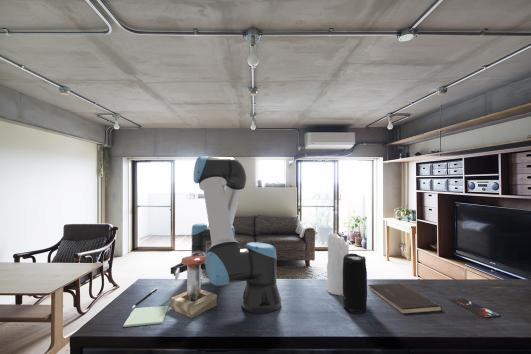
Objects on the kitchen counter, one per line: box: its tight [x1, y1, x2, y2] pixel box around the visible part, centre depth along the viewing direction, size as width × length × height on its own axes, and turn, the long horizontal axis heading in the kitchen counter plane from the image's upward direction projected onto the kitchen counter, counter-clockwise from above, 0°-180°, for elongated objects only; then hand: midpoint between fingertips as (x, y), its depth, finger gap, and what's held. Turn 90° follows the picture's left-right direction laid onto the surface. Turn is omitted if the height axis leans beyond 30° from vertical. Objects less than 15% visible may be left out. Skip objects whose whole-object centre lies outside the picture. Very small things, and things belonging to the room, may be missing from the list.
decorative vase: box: [325, 232, 350, 296], centre depth 117 cm, size 11×11×25 cm
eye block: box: [170, 289, 218, 319], centre depth 101 cm, size 12×12×4 cm
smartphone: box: [448, 297, 501, 319], centre depth 100 cm, size 7×1×15 cm
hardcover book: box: [367, 282, 443, 314], centre depth 108 cm, size 16×23×2 cm
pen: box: [131, 287, 159, 309], centre depth 110 cm, size 1×19×1 cm, turn 173°
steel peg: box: [181, 255, 205, 302], centre depth 101 cm, size 9×9×18 cm
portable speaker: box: [342, 253, 368, 315], centre depth 99 cm, size 9×9×20 cm
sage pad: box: [123, 305, 169, 328], centre depth 94 cm, size 12×12×1 cm
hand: (194, 275), depth 106 cm, fingers open, 13 cm apart
